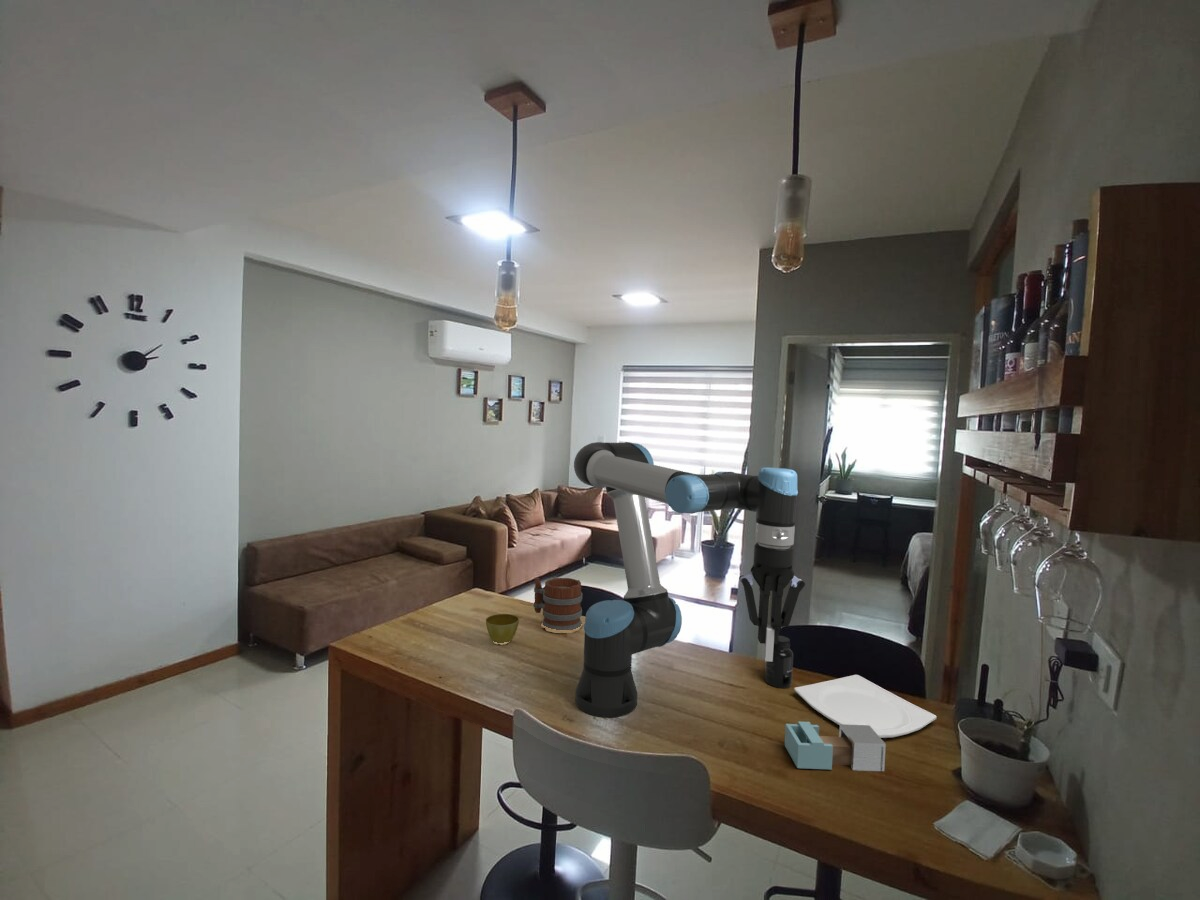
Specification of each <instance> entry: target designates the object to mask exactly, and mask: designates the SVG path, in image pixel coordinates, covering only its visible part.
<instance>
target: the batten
mask: <svg viewBox="0 0 1200 900" xmlns="http://www.w3.org/2000/svg"><path fill="white" fill-rule="evenodd" d="M819 736H820V738H821V739H822V741H823V742H824V744H832V746H833V757H832V766H833V765H834V766H835V765H839V766H851V759H852V742H851V741H850V740H849V738H848V737H839V736H830V735H829V736H827V735H826V736H825V735H819ZM807 743H810V742H809V741H808V739H807Z"/></svg>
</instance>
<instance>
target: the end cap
mask: <svg viewBox="0 0 1200 900" xmlns="http://www.w3.org/2000/svg"><path fill="white" fill-rule="evenodd" d="M838 730H839V733H838V737H848V738H849V740H850V741H851V742H852V759H851V765H850V768H851V769H852V771H859V772H860V771H861V772H863V771H865V772H866V771H867V772H885V766H886V765H885V764H886V762H885V761H886V747H887V745H886V742H885V741H884V740H883V739H882V738H880V737H879V736H878V735H877V734H876V732H875V731H874V730H873V729H872V728H871V727H870V726H869V725H845V724H840V725H839V729H838Z"/></svg>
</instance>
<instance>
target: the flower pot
mask: <svg viewBox="0 0 1200 900" xmlns="http://www.w3.org/2000/svg"><path fill="white" fill-rule="evenodd" d="M519 623H520V617H519V616H517V615H514V614H511V613H498V614H492V615H489V616H487V617H486V619H485V624H486V630H487V633H488V635H489V638H490V640H491V641H492V642H493V641H494V642H497V643H504V642H509V641H511V642H512V640H513V638H514V637H515V635H516V633H517V630H518V627H519Z"/></svg>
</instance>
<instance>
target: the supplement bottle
mask: <svg viewBox="0 0 1200 900" xmlns="http://www.w3.org/2000/svg"><path fill="white" fill-rule="evenodd" d="M790 647H791V639H790V638H789V637H786V636H785V635H784V636H783V635H779V641H778V644H774V647H773V662H771V661H765V672H764V674H765V675H764V676H765V677H764V679H765V681H766V683H767V684H768V685H770V686H771V687H774V688H779V689H787V688H790V687H791V686H792V684H793V683H792V682H793V667H794V666H793V665H794V652H793V650H791V648H790Z"/></svg>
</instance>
